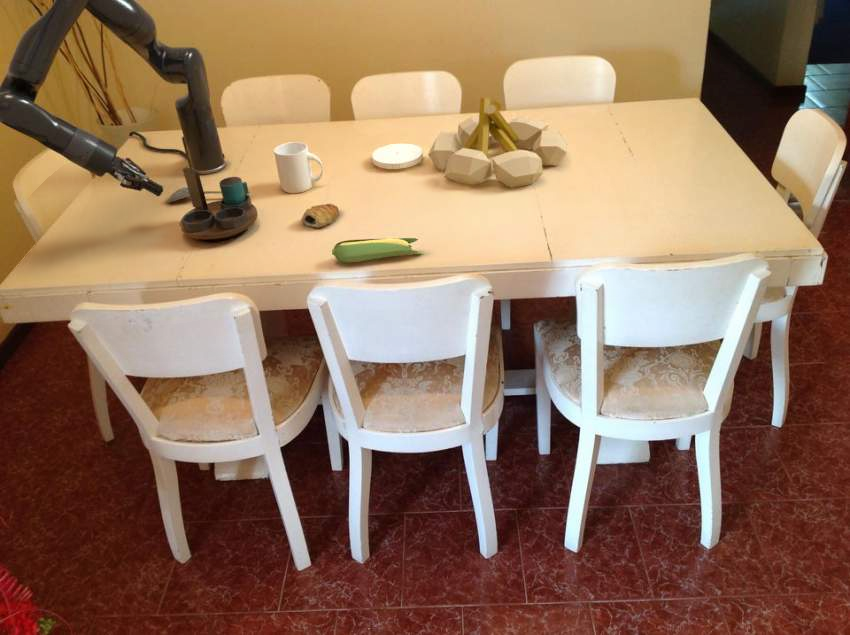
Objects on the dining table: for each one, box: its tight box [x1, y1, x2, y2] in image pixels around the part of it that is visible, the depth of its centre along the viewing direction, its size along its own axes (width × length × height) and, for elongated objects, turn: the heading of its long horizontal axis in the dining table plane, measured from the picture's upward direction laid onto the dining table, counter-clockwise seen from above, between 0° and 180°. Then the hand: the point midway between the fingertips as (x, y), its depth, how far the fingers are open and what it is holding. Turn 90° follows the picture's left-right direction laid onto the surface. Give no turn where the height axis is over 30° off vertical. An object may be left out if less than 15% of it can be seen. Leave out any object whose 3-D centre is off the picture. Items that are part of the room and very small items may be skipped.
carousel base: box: [197, 227, 250, 244], centre depth 175 cm, size 13×13×2 cm
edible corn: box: [331, 237, 425, 264], centre depth 158 cm, size 5×20×4 cm, turn 94°
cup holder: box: [179, 166, 259, 240], centre depth 172 cm, size 19×18×11 cm
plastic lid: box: [371, 142, 424, 170], centre depth 201 cm, size 14×14×2 cm
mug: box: [273, 141, 324, 194], centre depth 190 cm, size 9×12×11 cm
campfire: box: [427, 97, 568, 189], centre depth 192 cm, size 35×34×17 cm
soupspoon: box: [167, 187, 251, 203], centre depth 190 cm, size 22×3×7 cm
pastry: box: [301, 203, 340, 229], centre depth 175 cm, size 9×7×4 cm
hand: (161, 191), depth 171 cm, fingers closed
